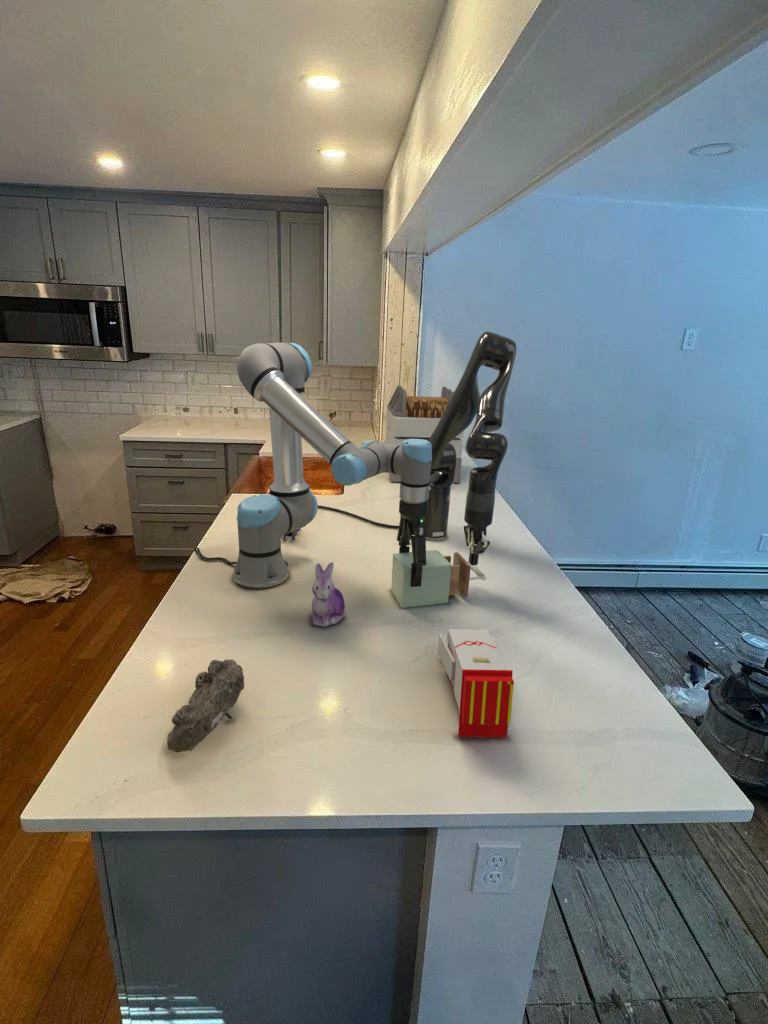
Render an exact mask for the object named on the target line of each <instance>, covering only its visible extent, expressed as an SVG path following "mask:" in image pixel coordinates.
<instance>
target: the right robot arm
mask: <svg viewBox="0 0 768 1024" xmlns="http://www.w3.org/2000/svg"><path fill="white" fill-rule="evenodd" d="M517 348H518V347H517V342H516V341H515V340H514V339H512V338H509V337H507V336H504V335H501V334H498V333H495V332H492V331H490V330H489V331H488V330H485V331H484V332H483V331H482V333H481V335H480V336H479V337H478V339H477V341H476V343H475V345H474V347H473V350H472V352H471V354H470V356H469V360H468V362H467V364H466V367H465V369H464V372H463V374H462V376H461V378H460V380H459V382H458V384H457V386H456V387H455V389H454V393H453V395H452V397H451V399H450V401H449V403H448V405H447V407H446V409H445V411H444V414H443V416H442V417H441V419H440V421H439V423H438V425H437V427H436V429H435V430H434V432H433V434H432V435H431V437H430V438H429V440H428V441H429V442H430V443H431V445H432V462H431V472H432V473H433V472H434V473H433V474H432V475H430V487H431V490H429V499H428V500H427V501H428V514H427V515H426V516H425V517H422V518H421V522H422V527H425V528H426V536H425V539H426V541H432V542H440V541H444V540H446V539H447V538H448V525H449V517H450V516H449V514H450V504H451V494H452V493H451V491H452V486H453V484H454V483H453V481H454V474H455V468H456V450H455V448H454V446H453V445H452V444H450V442H451V441H452V440H453V439H454V438H455V437H457V436H458V435H459V434H460V433H462V432H463V431H465V430H466V429H467V428H468V427H470V425H471V424H472V423H473V421H474V419H475V421H474V425H473V427H472V429H471V431H470V434H469V436H468V438H467V440H466V443H465V452H466V455H467V456H468V457H469V458H470V459H474V460H483V461H484V460H485V461H491V462H489V464H487V465H481V466H475V467H473V468H471V470H470V473H469V478H468V479H469V480H468V488H467V494H466V497H465V498H466V499H465V507H464V515H463V517H464V518H463V520H464V522H465V523H466V524H467V525H463V533H464V540H465V545H466V547H468V551H469V553H468V563H469V564H470V565H475V566H478V564H479V559H480V555H481V554H484V553H485V552H486V551H487V550H488V548H489V547H490V545H491V541H490V540H487V533H488V531H487V527H489V526H491V525H492V524H493V518H494V509H495V503H496V502H495V501H496V486H497V480H498V475H499V470H500V468H501V465H502V463H503V461H504V459H505V457H506V454H507V451H508V449H509V442H508V441H509V440H508V439H507V437H506V436H505V434H503V433H497V431H498V430H500V429H501V428H502V427H503V423H504V415H505V414H504V413H505V402H506V396H507V392H508V388H509V385H510V380H511V377H512V374H513V369H514V364H515V361H516V356H517ZM482 366H483V367H486V368H489V369H492V370H494V371H495V370H496V371H498V374H497V376H496V378H495V379H494V381H492V382H491V383H490V384H489V385H488V386H487V387H486V388H485V389H484V390H483V392H480V388H479V381H478V378H479V377H478V374H479V370H480V368H481V367H482ZM480 393H481V394H480ZM493 432H494V433H493ZM463 433H464V432H463ZM431 472H430V473H431ZM318 509H323V510H327V511H328V510H329V511H333V512H336V513H340V514H343V515H347V516H350V517H353V518H354V519H358V520H361V521H363V522H366V523H368V524H371V525H374V526H379V527H384V528H388V529H399V525H393V524H387V523H381V522H376V521H374V520H371V519H369V518H366V517H362V516H360V515H358V514H354V513H351V512H348V511H346V510H343V509H340V508H339V509H338V508H334V507H329V506H325V505H319V504H318Z"/></svg>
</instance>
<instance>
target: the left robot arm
mask: <svg viewBox="0 0 768 1024" xmlns="http://www.w3.org/2000/svg"><path fill="white" fill-rule="evenodd" d="M312 364H313V363H312V361H311V358H310V355H309V353H308V352H307V351H306V350H305V349H304V348H303V347H302V346H301V345H300V344H297V343H295V342H285V341H280V342H267V343H265V342H263V343H262V342H261V343H260V342H258V343H254V344H251V345H248V346H247V347H246V348H244V349H243V351H242V352H241V353H240V354H239V356H238V359H237V363H236V372H237V376H238V379H239V382H240V384H241V385H242V386H243V388H244V389H245V391H247V393H248V394H249V395H250V396H251V397H252V398H253V399H255V400H256V402H260V403H261V402H262V403H263V402H264V403H265V404H266V405H267V407H268V408H269V409H268V410H269V423H270V438H271V439H270V440H271V451H272V453H271V455H272V468H273V469H272V470H273V482H272V483H271V484H270V485H269V488H268V489H269V493H268V494H267V493H263V494H262V493H261V494H258V495H255V494H254V495H251V496H248V497H246V498H244V499H243V500H242V501H240V502H239V504H238V506H237V515H236V522H237V523H236V524H237V537H238V538H237V539H238V556H237V560H236V561H230V560H228V559H227V558H225V557H219V556H216V557H206V556H205V555H203V554H202V553H201V550H200V548H199V547H195V548H194V549H193V551H194V552H197V554H198V555H199V557H200V558H201V559H202V560H205V561H224V562H225V563H226V564H228V565H235V566H234V569H233V581H234V582H235V583H236V584H237V585H238V586H241V587H244V588H247V589H255V590H256V589H257V590H258V589H259V590H261V589H268V588H273V587H276V586H280V585H281V584H282V583H284V582H286V580H287V579H288V577H289V571H288V566H289V562H287V561H286V560H285V559H284V556H283V553H282V541H281V538H283V537H284V535H286V534H288V533H290V532H293V531H295V530H297V529H302V528H304V527H306V526H307V525H308V524H310V523H312V521H314V520H315V518H316V516H317V513H318V510H319V508H318V505H319V504H318V499H317V497H316V495H314V492H313V490H312V489H310V484H309V483H307V482H306V481H305V479H304V463H303V461H304V460H303V441H302V439H303V440H304V441H305V442H306V443H307V444H308V445H310V446H311V447H312V448H313V449H314V451H316V452H317V453H318V454H319V455H320V456H321V457H322V458H323V459H324V460H326V462H327V463H328V464H329V465H330V466H331V467H330V472H331V474H332V476H333V479H334V480H335V481H336V483H338V484H339V485H341V486H346V487H348V486H354V485H358V484H360V483H362V482H363V481H365V480H367V479H370V478H372V477H375V476H377V475H380V474H383V473H386V474H390V473H392V474H397V475H401V482H399V483H400V484H399V498H400V499H399V500H398V501H399V502H398V513H399V515H400V517H399V524H398V526H399V528H397V529H398V530H397V537H396V541H397V542H398V546H399V547H398V553H407V552H410V546H411V552H412V555H413V563H411V566H412V569H411V585H410V586H411V587H419V586H421V580H422V566H424V565H426V551H427V542H426V541H427V539H425V536H426V528H425V527H422V522H421V518H422V517H425V516H426V515H427V514H428V501H427V500H428V499H429V490H431V487H430V477H431V462H432V445H431V443H430V442H429V441H427V440H423V439H406V440H404V441H403V444H402V446H401V445H395V444H389V443H384V442H385V441H379V440H369V439H368V440H364V441H362V444H361V445H360V446H359V447H358V446H357V445H356V444H354V443H353V442H352V441H351V440H350V439H349V438H348V437H346V436H345V435H344V434H343V433H342V432H341V431H340V430H339V429H337V427H336V426H335V425H333V423H331V422H330V420H328V419H327V418H326V417H325V416H324V415H323V414H322V413H320V411H318V410H317V409H316V407H314V406H313V405H312V404H311V403H310V402H308V400H306V399H305V398H304V396H303V395H304V394H305V393H306V392H305V391H306V389H305V384H306V382H308V381H309V378H310V377H311V376H312V371H313V367H312ZM196 549H197V550H196Z"/></svg>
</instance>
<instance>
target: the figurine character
mask: <svg viewBox="0 0 768 1024" xmlns="http://www.w3.org/2000/svg"><path fill="white" fill-rule="evenodd" d="M301 529H302V528H300V529H297V530H295V531H293V532H290V533H288V534H286V535H284V536H282V540H283V541H286V539H287V538H291V541H294V539H295V537H297V536H298V533H299V532H300V531H301Z"/></svg>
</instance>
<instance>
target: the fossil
mask: <svg viewBox="0 0 768 1024" xmlns="http://www.w3.org/2000/svg"><path fill="white" fill-rule="evenodd" d="M243 670H244V669H243V667H242V665H240V664H237V662H236V661H235V660H234V659H232V658H231V659H227V658H226V659H224V660H223V661H222V660H217V659H212V660H211V661H210V663H209V665H208V666H207V671H201V672H199V673H198V674H197V675H196V676H195V680H194V684H195V685H194V687H195V689H194V690H193V693H192V694H191V697H190V698H189V700H188V704H184V705H182V706H181V707H180V709H177V710H176V711H175V713H174V715H173V716H172V718H171V723H172V724H173V727H172V730H171V731H170V732H168V734H167V738H166V741H167V742H166V745H167V749H168V750H169V751H173V752H174V753H176V754H178V753H182V752H188V751H189V752H192V751H193V750H195V748H196V747H197V746H199V744H200V743H201V742H203V741H204V740H205V739H206V738H207V737H208V736H209V735H210V734H211V733H212V732H214V730H215V729H217V727H218V726H219V724H220V722H221V721H222V720H223V719H224V718H225V716H226V717H227V719H229V720H233V717H232V715H230V714H229V710H230V709H231V708H234V706H235V704H236V703H237V702H238V699H239V697H240V695H241V693H242V691H243V690H245V689H244V688H245V675H244V671H243Z"/></svg>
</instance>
